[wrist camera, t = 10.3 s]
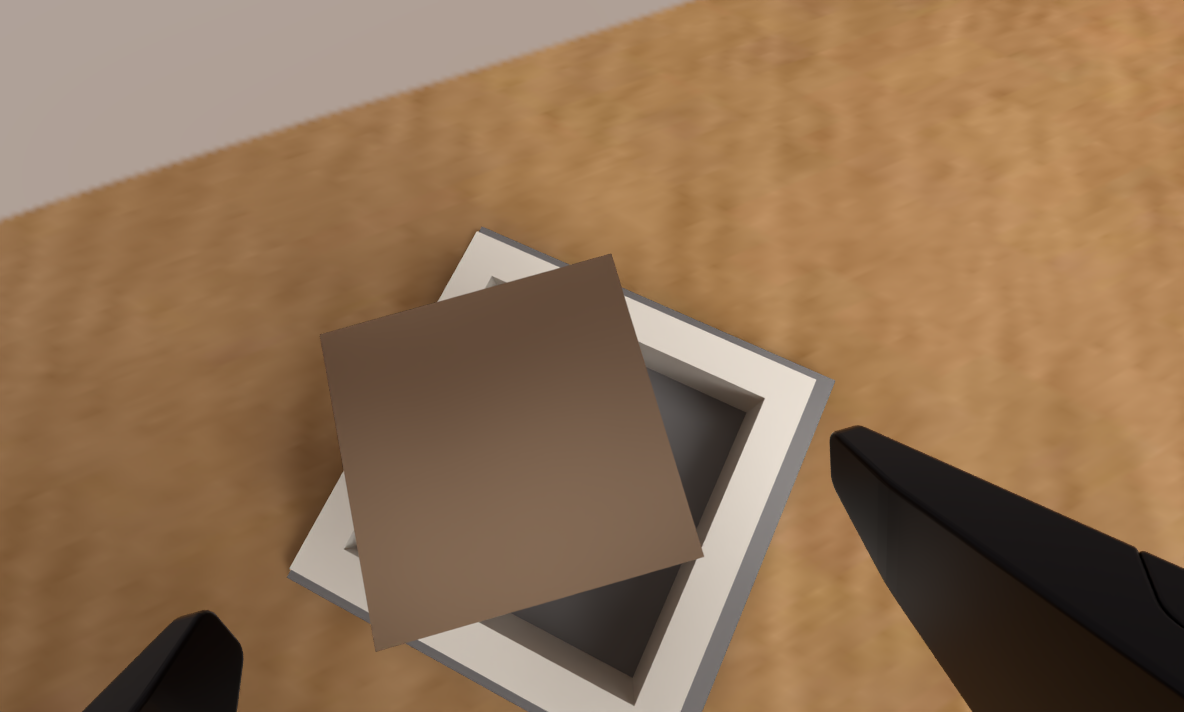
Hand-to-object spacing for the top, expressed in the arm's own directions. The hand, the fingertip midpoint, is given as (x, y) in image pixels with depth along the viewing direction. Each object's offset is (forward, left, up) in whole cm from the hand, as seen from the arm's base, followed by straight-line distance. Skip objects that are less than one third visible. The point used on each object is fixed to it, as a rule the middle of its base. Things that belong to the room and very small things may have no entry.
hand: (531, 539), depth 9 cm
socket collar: (+1, -1, -10) cm, 10 cm away
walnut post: (+1, -1, -9) cm, 10 cm away
